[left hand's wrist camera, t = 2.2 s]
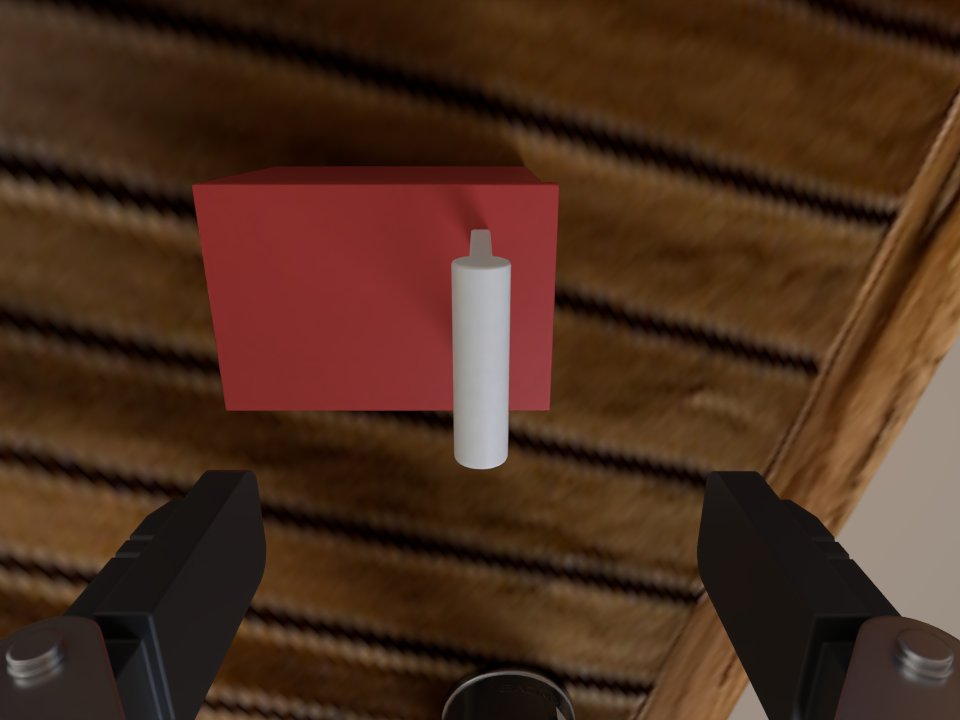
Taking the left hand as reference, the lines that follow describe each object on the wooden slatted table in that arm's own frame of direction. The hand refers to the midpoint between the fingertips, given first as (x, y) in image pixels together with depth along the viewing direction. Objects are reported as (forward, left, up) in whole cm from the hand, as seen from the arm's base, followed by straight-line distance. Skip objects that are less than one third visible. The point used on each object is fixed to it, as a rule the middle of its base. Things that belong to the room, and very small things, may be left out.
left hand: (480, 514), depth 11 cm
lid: (-1, +4, -15) cm, 16 cm away
